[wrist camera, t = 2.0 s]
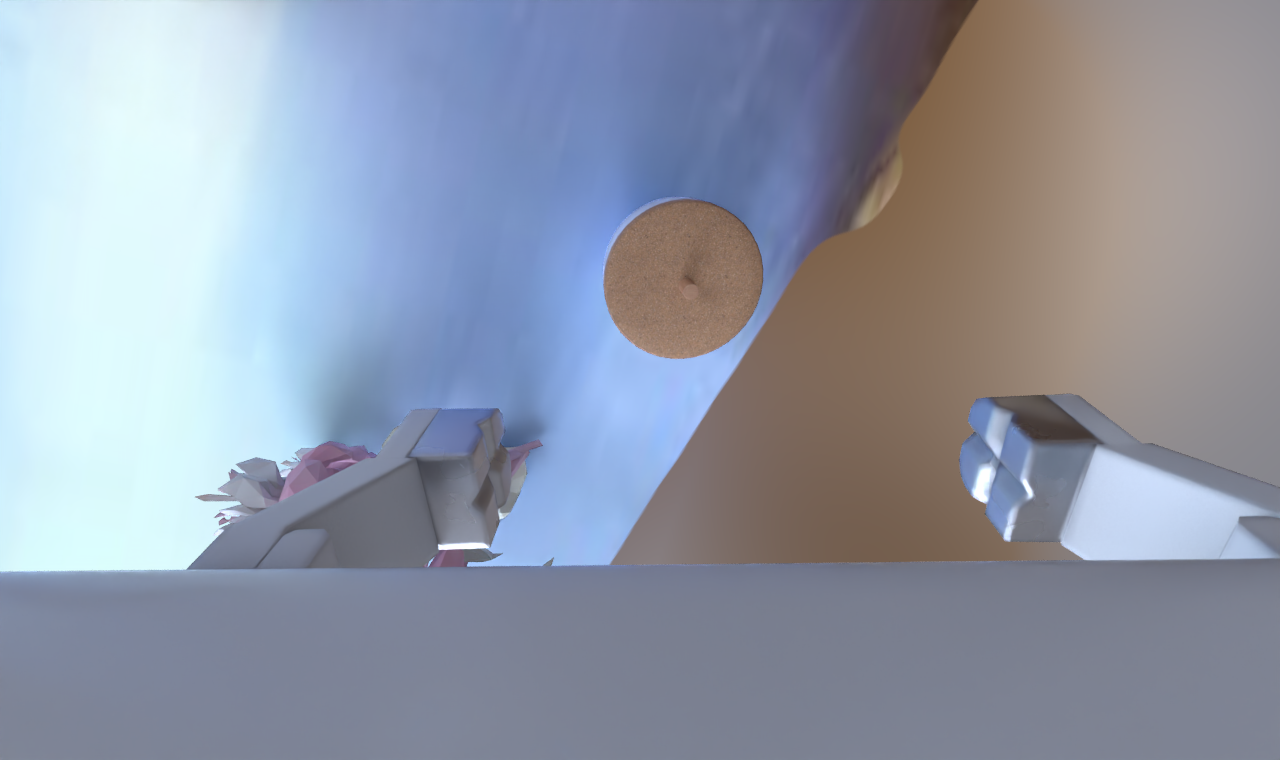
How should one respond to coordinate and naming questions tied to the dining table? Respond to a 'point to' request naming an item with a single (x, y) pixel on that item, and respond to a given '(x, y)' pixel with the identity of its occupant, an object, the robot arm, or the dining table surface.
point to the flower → (317, 464)
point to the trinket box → (681, 277)
